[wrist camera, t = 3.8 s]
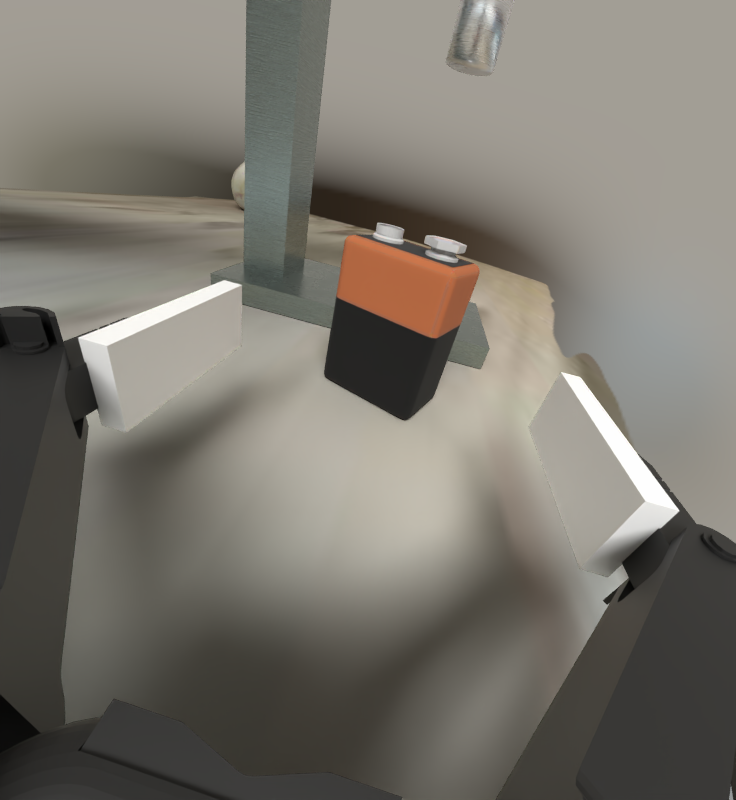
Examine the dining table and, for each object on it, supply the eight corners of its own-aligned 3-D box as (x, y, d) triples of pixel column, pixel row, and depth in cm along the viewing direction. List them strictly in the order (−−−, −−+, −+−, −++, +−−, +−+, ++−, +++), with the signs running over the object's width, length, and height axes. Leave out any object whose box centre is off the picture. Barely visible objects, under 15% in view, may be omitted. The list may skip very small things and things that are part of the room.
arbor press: (211, 295, 31) (152, -1162, 9) (274, 267, 43) (313, -407, 21) (553, 389, 30) (1419, -1068, 8) (521, 333, 42) (835, -315, 20)
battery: (405, 425, 21) (464, 251, 15) (319, 377, 23) (344, 214, 18) (434, 399, 24) (490, 249, 19) (356, 360, 27) (386, 217, 21)
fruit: (286, 217, 79) (290, 154, 73) (265, 219, 71) (268, 149, 65) (245, 206, 80) (246, 143, 74) (221, 206, 72) (219, 137, 66)
